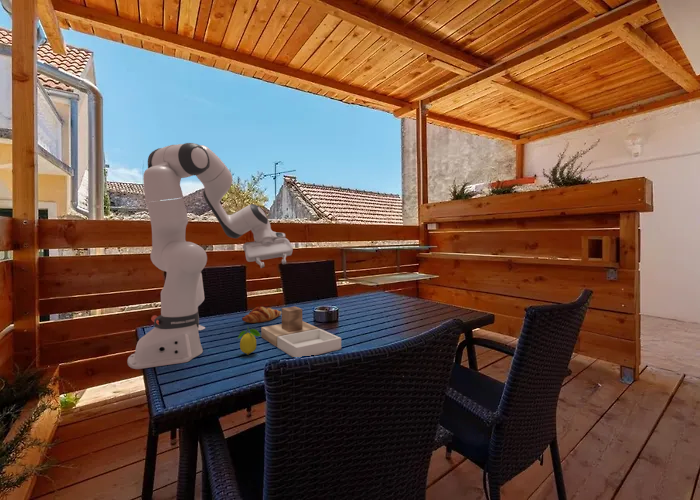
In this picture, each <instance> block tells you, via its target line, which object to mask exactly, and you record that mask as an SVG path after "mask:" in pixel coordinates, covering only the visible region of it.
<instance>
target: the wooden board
mask: <svg viewBox="0 0 700 500" xmlns="http://www.w3.org/2000/svg"><path fill="white" fill-rule="evenodd" d="M315 329H319V327H317V326H314V325H313V324H311V323H308V322H305V321H304V320H302V330H296V331H291V332H288V331H286V330H284V329H282V323H279V324H274V325H273V324H272V325H267V326H263V327H262V326H261V330H260V331H261V333H260V335H261V336H260V337H261V338H262V339H263V340H265V341H267V343H268V342H269V343H270V344H271V345H273V346H274V347H277V337H278V336H283V335H289V334H294V333H299V332H304V331H309V330H315Z"/></svg>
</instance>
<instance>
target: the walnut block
mask: <svg viewBox="0 0 700 500" xmlns="http://www.w3.org/2000/svg"><path fill="white" fill-rule="evenodd" d="M302 321H303V308H300V307H297V306H289V307H282V308H281V324H282V329H284V330H286V331H288V332H291V331H296V330H302Z"/></svg>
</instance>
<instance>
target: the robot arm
mask: <svg viewBox="0 0 700 500" xmlns="http://www.w3.org/2000/svg"><path fill="white" fill-rule="evenodd" d="M147 157H148V158H147V168H146V170H145V171H144V172H143V176H142V177H143V190H144V191H143V192H144V198H145V201H146V206H147V212H148V216H149V219H150V225H151V246H152V247H151V248H152V249H151V251H150V255H149V256H150V257H149V258H150V261H151V262H152V264H153V265H154V266H155V267H156V268H158V269H159V270H161V271H163V272H166V275H165V276H166V277H165V281H164V285H163V287H162V289H161V291H160V314H159V315H158V316H157V315H156V314H155V315H152V316H151V318H150V319H151V321H152V322H153V323H154V327H153V328H152V329H151V330H149V331H148V332H147V333H146V334H144V335H143V336H142V337H141V338H139V340H138V341H137V342H136V343H137V344H136V345H135V346H136V347H135V352H134V353H131V354H130V355H129V356H128V357H127V361H126V362H127V366H128V367H130V369H135V370H141V369H148V368H155V367H161V366H162V367H163V366H167V365H168V366H169V365H175V364H176V365H177V364H183V363H184V364H185V363H189V362H190V361H191V360H193V359H194V358H196V357H198V356H200V355H201V354H202V353H203V352H204V350H203V346H202V344H201V343H202V342H201V339H200V335H199V330H198V327H199V325H200V316H199V311H198V312H197V286H198V281H199V277H200V273H202V271H203V270H204V268H205V266H206V265H207V262H208V255H207V252H206V250H205V249H204V248H203V247H202V246H200V245H198V244H197V243H194V242H192V241H187V240H186V230H187V229H186V228H187V225H188V223H189V218H188V212H187V207H186V203H185V198H184V195H183V191H182V186H181V181H182V179H184V178H190V177H193V176H195V177H196V178H197V179H198V180H199V181H200V182H201V184H202V185H203V187H204V189H203V192H202V195H203V198H204V199H205V202H206V204H207V206H208V207H209V208H210V211H211V212H212V213H213V215H214V216H215V218H216V220H217V221H218V223H219V224H220V226H221V228H222V230H223V232H224V233H225V235H226V236H227V237H228V238H231V239H239V238H240V237H242V236H243V235H244V234H246V233H248V232H249V231H251V233H252V234H253V240H254V241H250V242H247V241H246V242H245V243H244V244H242V250H243V251H244V254H245V259H246V261H247V262H249V263H250V262H255V263H256V264H257V265H259V267H260V269H262V268H265V262H264V260H269V259H270V260H271V259H275V258H276V259H277V258H282V259H281V263H282V265H286V264H287V260H286V258H287V257H289V256H292V254H293V250H294V249H293V246H292V244H291V242H290V240H289V239H288V238H286V233H284V232H276V231H273V230H272V228H271V227H272V225H271V223H270V220H269V218H268V215H267V213H266V211H265V210H264V209H263V208H262V206H260V205H257V204H254V203H251V204H248V205H247V206H245V207H243V208H241V209H240V210H238V211H237V212H234V213H232V214H227V212H226V211H225V209H224V208H223V205H222V204H221V200H222V199H223V198H224V196H225V195H226V194H227V193H228V192H229V190H230V188H231V186H232V183H233V176H232V173H231V171H230V169H229V168H228V167H227V166H226V164H225V163H224V162H223V161H222V160H221V158H220V157H219V156H218V155H217V154H216V153H215V152H213V150H211V149H210V148H209V147H208V146H206V145H204V144H198V143H194V142H185V143H179V144H178V143H177V144H170V145H167V146H163V147H160V148H159V147H158V148H157V149H154V150H153V151H151V152H150V153H149V155H148V156H147Z"/></svg>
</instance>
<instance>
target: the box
mask: <svg viewBox="0 0 700 500" xmlns="http://www.w3.org/2000/svg"><path fill="white" fill-rule="evenodd" d="M277 348H278V349H279V350H280V351H282V352H284V353H285V354H287V355H289V356H290V357H291V358H293V357H302V356H310V357H312V356H311V355H314V356H318V355H322V354H325V353H331V352H334V351H338V350H339V351H340V350H342V337H339V336H338V335H335V334H334V333H330V332H329V331H326V330H325V329H323V328H318V329H315V330H309V331H304V332H299V333H294V334H289V335H283V336H278V337H277Z"/></svg>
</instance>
